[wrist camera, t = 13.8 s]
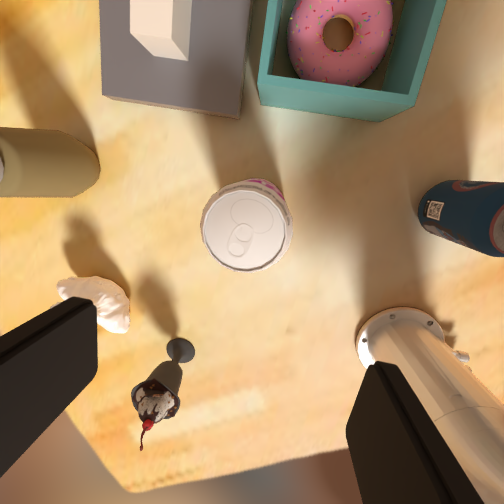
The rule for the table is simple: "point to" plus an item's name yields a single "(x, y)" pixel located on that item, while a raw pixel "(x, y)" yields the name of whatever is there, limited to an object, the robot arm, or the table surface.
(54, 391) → the robot arm
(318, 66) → the doughnut
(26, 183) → the squeeze bottle
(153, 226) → the table surface
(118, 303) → the white tied bag
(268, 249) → the supplement can
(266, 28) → the pastry box
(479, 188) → the soda can
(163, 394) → the sundae
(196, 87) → the lid
